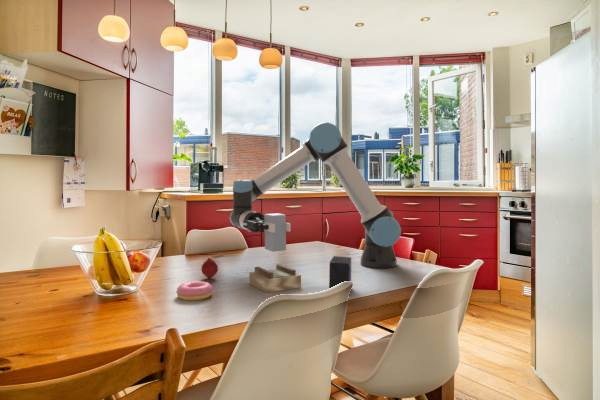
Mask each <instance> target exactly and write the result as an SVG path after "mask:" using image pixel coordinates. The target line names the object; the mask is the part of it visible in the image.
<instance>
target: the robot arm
mask: <svg viewBox="0 0 600 400" xmlns="http://www.w3.org/2000/svg"><path fill="white" fill-rule="evenodd" d="M348 150H349V146H348V145H347V143H346V141H345V140H344V137H343V135H342V133H341V131H340V128H338V127H337V125H335V124H333V123H331V122H327V121H326V122H325V121H324V122H320V123H318V124H316V125H315V126H314V127H313V128H312V130H310V133H309V138H308V139H306V140H304V141H303V142H302V146H300V147H299V148H298V149H296V150H295V151H293V152H292V153H290V154H289V155H287V156H286V157H284V158H282V160H280V161H278V162H276V164H274V165H273V166H271V167H269V168H268V169H266V170H265V171H263V172H262V173H260V174H259V175H257V176H256V177H254V178H253V179H235V180H234V181H233V184H232V185H233V187H232V199H233V201H232V203H233V204H232V206H233V207H232V208H233V209H232V211H231V212H230V215H229V221H230V223H231V225H232V226H233V227H235V228H238V229H241V230H246V231H247V232H248V233H251V232H253V233H259V232H260V233H265V231H269V232H273V233H274V232H275V224H272V223H267V222H265V217H264V214H263V213H262V212H258V211H255V210H253V202H254V201H256V200H257V199H258V198H260V197H261V196H262V195H263V194H265V193H267V192H268V191H269V190H271V189H272V188H274V187H276V186H277V185H279V184H280V183H281V182H283V181H284V180H286V179H287V178H289V177H290V176H292V175H294V174H295V173H296V172H298V171H300V170H301V169H302V168H304V167H305V166H307V165H308V164H310V163H311V162H317V161H318V160H321V162H322V163H323V164H325V165H328V166H329V168H330V169H331V170H332V172H333V174H334V175H335V177H336V178H337V180H338V181H339V183H340V185H341V186H342V188H343V189H344V191H345V192H346V194H347V195H348V197H349V198H350V201H351V202H352V203H353V205H354V206H355V208H356V210H357V211H358V212H359V214H360V217H361V219H360V223H361V225H362V226H363V228H364V248H363V251H362V253H361V257H360V265H362V266H363V267H367V268H373V269H376V268H377V269H389V268H391V269H392V268H394V267H395V268H396V267H397V264H398V261H397V260H398V259H397V256H396V254H395V250H394V245H395V244H396V243H397V242H398V241H399V239H400V237H401V234H402V233H401V232H402V228H401V225H400V223H399V221H398V220H397V219H395V217H394V213H393V210H389V209H388V207H387V206H386V205H382V204H381V203H380V202H379V200H378V199H377V196H376V195H375V193H373V191H372V189H371V188H370V186H369V185H368V183H367V181H366V180H365V178H364V176H363V175H362V173H361V171H359V169H358V167H357V165H356V164H355V163H354V161H353V159H352V158H351V156H350V155H349V153H348ZM291 224H292V223H290V222H288V221H287V220H286V232H288V233H289V232H291V231H292V230H291Z"/></svg>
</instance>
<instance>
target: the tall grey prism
mask: <svg viewBox="0 0 600 400" xmlns="http://www.w3.org/2000/svg"><path fill="white" fill-rule="evenodd" d="M263 215H264V217H265V222H267V223H272V224H275V232H274V233H273V232H269V231H265V230H264V249H265V250H267V251H269V252H273V253H274V252H281V251H287V231H286V221H287V220H286V219H287V218H286V217H287V216H286V214H283V213H277V212H276V213H265V214H263Z"/></svg>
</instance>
